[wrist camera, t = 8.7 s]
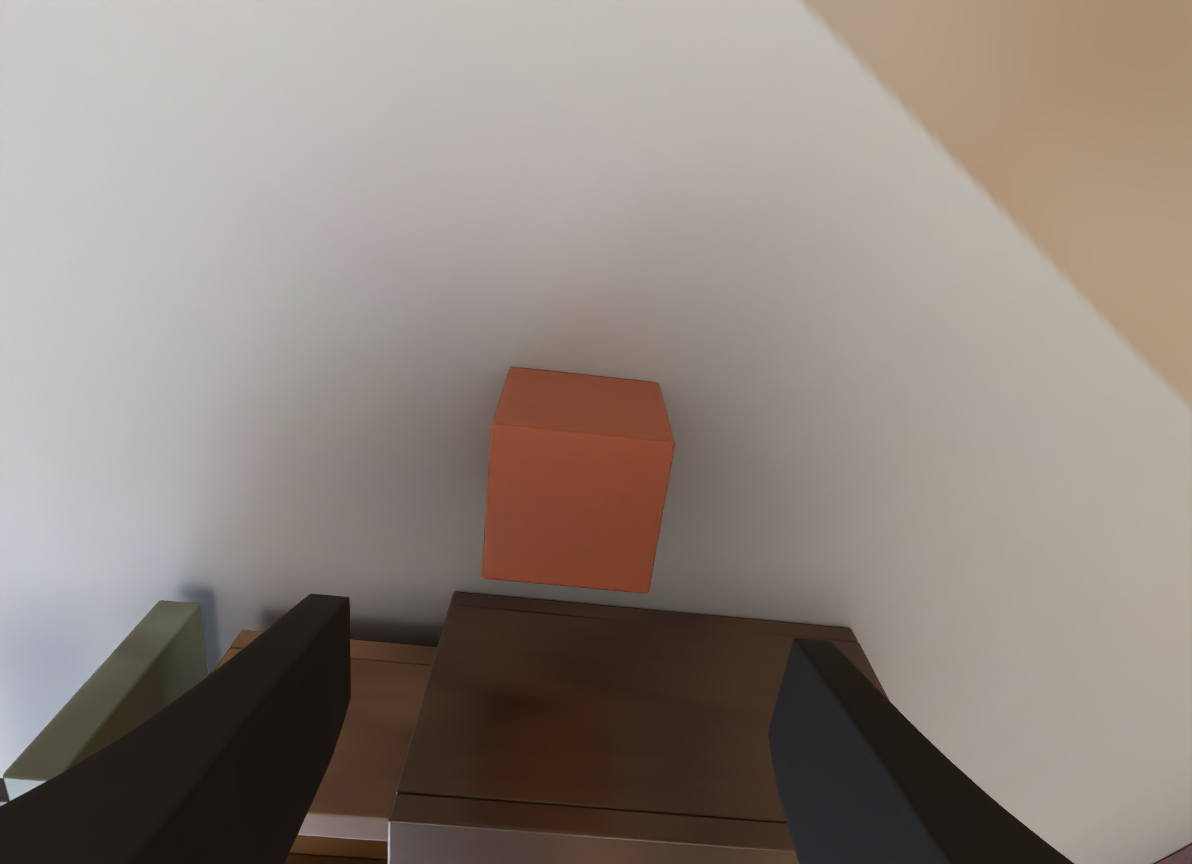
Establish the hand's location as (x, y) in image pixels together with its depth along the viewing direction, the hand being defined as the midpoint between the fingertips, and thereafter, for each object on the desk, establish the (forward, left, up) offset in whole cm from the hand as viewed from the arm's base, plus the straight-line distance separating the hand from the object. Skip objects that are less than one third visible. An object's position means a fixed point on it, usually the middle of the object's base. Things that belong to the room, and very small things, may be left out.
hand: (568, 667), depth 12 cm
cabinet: (-6, -10, -9) cm, 15 cm away
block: (0, 0, -9) cm, 9 cm away
